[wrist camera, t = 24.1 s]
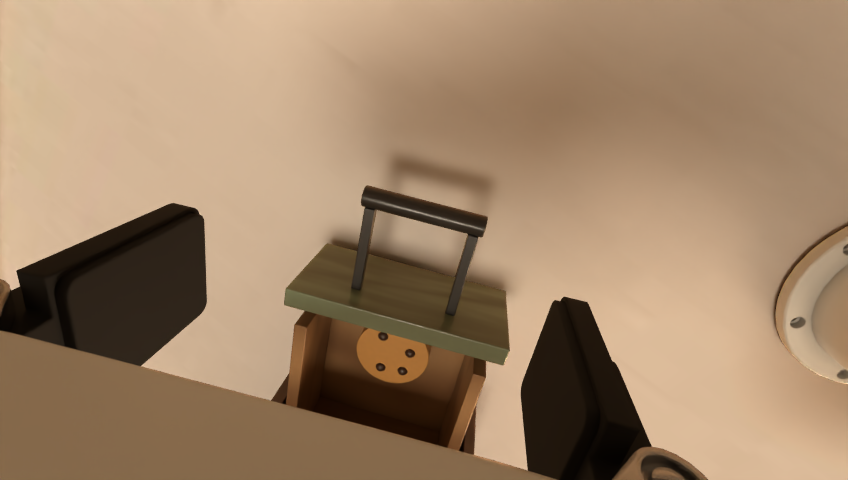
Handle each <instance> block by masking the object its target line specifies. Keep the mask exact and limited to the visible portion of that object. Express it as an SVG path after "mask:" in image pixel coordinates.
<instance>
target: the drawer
mask: <svg viewBox="0 0 848 480" xmlns="http://www.w3.org/2000/svg"><path fill="white" fill-rule="evenodd" d="M361 205H362V206H364V207H365V209H364V215H363V221H362V227H361V233H360V238H359V244H358V250H357V251H355V250H351V249H347V248H343V247H340V246H336V245H332V244H329V243H327V244H326V245H325V246H324V247H323V248H322V249H321V250H320V252H319V253H318V254H317V255H316V256H315V257H314V258H313V259H312V260H311V261H310V263H309V264H308V265H307V266H306V267H305V268H304V269H303V270H302V271H301V272H300V274H299V275H298V276H297V277H296V278H295V279H294V280H293V281H292V282H291V283H290V285H289V286H288V287H287V288H286V291H285V301H284V305H286V306H290V307H293V308H297V309H300V310H304V313H303V314H302V315H301V317H300V318H299V319H298V321H297V322H296V323H295V326H294V335H293V344H292V354H291V363H290V372H289V381H288V390H287V399H286V405H289V406H293V407H296V408H300V409H304V410H308V411H312V412H315V413H319V414H323V415H327V416H331V417H334V418H338V419H342V420H346V421H349V422H353V423H357V424H361V425H365V426H368V427H372V428H376V429H379V430H383V431H387V432H391V433H394V434H398V435H402V436H405V437H409V438H413V439H416V440H420V441H424V442H428V443H431V444H435V445H439V446H442V447H446V448H450V449H454V450H457V451H459V449H460V446H461V444H462V441H463V438H464V435H465V433H466V430H467V427H468V425H469V422H470V419H471V417H472V414H473V411H474V408H475V406H476V403H477V400H478V398H479V395H480V392H481V389H482V387H483V384H484V381H485V379H486V361H489V362H492V363H496V364H500V365H504V364H505V362H506V359H507V356H508V354H509V351H510V347H509V333H508V318H507V304H506V291H504V290H500V289H496V288H493V287H489V286H485V285H482V284H478V283H474V282H470V281H467V280H466V277H467V274H468V270H469V267H470V264H471V260H472V257H473V254H474V250H475V247H476V244H477V241H478V237H483V235H484V232H485V229H486V225H487V220H488V217H487V216H483V215H479V214H475V213H471V212H468V211H464V210H460V209H456V208H452V207H448V206H445V205H441V204H437V203H433V202H429V201H425V200H422V199H418V198H414V197H410V196H406V195H402V194H398V193H395V192H391V191H387V190H383V189H379V188H375V187H372V186H368V185H367V186H366V187H365V188H364V191H363V194H362V199H361ZM377 210H379V211H383V212H387V213H390V214H394V215H398V216H402V217H406V218H409V219H413V220H417V221H421V222H425V223H428V224H432V225H436V226H440V227H444V228H447V229H451V230H455V231H459V232H463V233H467V234H468V235H467V238H466V242H465V245H464V249H463V252H462V255H461V259H460V262H459V266H458V269H457V273H456V276H455V277H452V276H448V275H444V274H441V273H437V272H433V271H429V270H426V269H422V268H418V267H414V266H411V265H407V264H403V263H399V262H396V261H392V260H388V259H385V258H381V257H377V256H373V255H370V254H369V249H370V244H371V238H372V233H373V227H374V222H375V216H376V211H377ZM364 327H366V328H369V329H373V330H376V331H380V332H384V333H387V334H391V335H395V336H398V337H402V338H405V339H409V340H413V341H416V342H420V343H424V344H427V345H431V351H430V356H429V361H428V365H427V367H426V369H425V371H424V372H423V373H422V374H421V375H420V376H419V377H417V378H416V379H414V380H412V381H409V382H405V383H390V382H386V381H383V380H380V379H378V378H376V377H374V376H373V375H371V374H370V373H369V372H368V371H367V370H366V369H365V368H364V367H363V366H362V364H361V363H360V361H359V358H358V355H357V342H358V339H359V337H360V335H361V333H362V331H363V329H364Z"/></svg>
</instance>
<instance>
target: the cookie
mask: <svg viewBox="0 0 848 480" xmlns="http://www.w3.org/2000/svg"><path fill="white" fill-rule="evenodd" d="M430 351H431V345H427V344H424V343H420V342H416V341H413V340H409V339H405V338H402V337H398V336H395V335H391V334H387V333H384V332H380V331H376V330H373V329H369V328H366V327H364V329H363V331H362V333H361V335H360V337H359V339H358V342H357V355H358V358H359V361H360V363H361V364H362V366H363V367H364V368H365V369H366V370H367V371H368V372H369V373H370V374H371V375H373V376H374V377H376V378H378V379H380V380H383V381H386V382H390V383H405V382H409V381H412V380H414V379H416V378H417V377H419V376H420V375H421V374H422V373H423V372H424V371H425V369H426V367H427V365H428V361H429V356H430Z"/></svg>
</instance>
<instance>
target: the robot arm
mask: <svg viewBox="0 0 848 480" xmlns="http://www.w3.org/2000/svg"><path fill="white" fill-rule="evenodd" d="M17 275H18V279H19V283H20V287H18V288H16V289H14V290H12V291H11V290H10V286H9V284H8V283H7V282H5V281H4V280H1V279H0V480H708V479H707V478H706V477H705V476H704V475H703V474H702V473H701V472H700V471H699V470H698V469H696V468H695V467H694V466H693V465H692V464H690V463H689V462H688V461H686V460H684V459H683V458H681V457H679V456H678V455H676V454H674V453H672V452H669V451H667V450H664V449H661V448H656V447H652V446H651V444H650V442H649V439H648V437H647V435H646V432H645V430H644V428H643V425H642V423H641V420H640V418H639V416H638V413H637V411H636V409H635V406H634V404H633V402H632V399H631V397H630V395H629V392H628V390H627V387H626V385H625V383H624V380H623V378H622V376H621V373H620V371H619V369H618V367H617V365H616V363H615V362H613V361H612V360H611V357H610V355H609V353H608V350H607V348H606V345H605V343H604V341H603V338H602V336H601V333H600V331H599V328H598V326H597V324H596V321H595V319H594V316H593V314H592V311H591V309H590V307H589V304H588V303H587V302H584V301H580V300H576V299H572V298H568V297H563V298H562V299H561V301H556V300H555V301H553V303H552V305H551V308H550V310H549V313H548V316H547V318H546V321H545V323H544V326H543V329H542V331H541V334H540V337H539V339H538V342H537V345H536V347H535V350H534V353H533V355H532V358H531V361H530V363H529V366H528V369H527V371H526V374H525V377H524V379H523V382H522V387H521V402H522V413H523V423H524V434H525V445H526V455H527V466H528V471H527V470H524V469H520V468H517V467H514V466H511V465H507V464H504V463H501V462H497V461H494V460H491V459H487V458H483V457H479V456H476V455H472V454H468V453H465V452H461V451H457V450H454V449H450V448H446V447H442V446H439V445H435V444H431V443H428V442H424V441H420V440H416V439H413V438H409V437H405V436H402V435H398V434H394V433H391V432H387V431H383V430H379V429H376V428H372V427H368V426H365V425H361V424H357V423H353V422H349V421H346V420H342V419H338V418H334V417H331V416H327V415H323V414H319V413H315V412H312V411H308V410H304V409H300V408H296V407H293V406H289V405H285V404H281V403H277V402H274V401H270V400H266V399H262V398H258V397H255V396H251V395H247V394H243V393H240V392H236V391H232V390H228V389H224V388H221V387H217V386H213V385H209V384H206V383H202V382H198V381H194V380H190V379H187V378H183V377H179V376H175V375H172V374H168V373H164V372H160V371H156V370H153V369H149V368H145V367H141V365H142V364H144V363H145V362H146V361H147V360H148V359H149V358H151V357H152V356H153V355H154V354H155V353H156V352H157V351H159V350H160V349H161V348H162V347H163V346H164V345H166V344H167V343H168V342H169V341H170V340H171V339H172V338H174V337H175V336H176V335H177V334H178V333H179V332H181V331H182V330H183V329H184V328H185V327H186V326H188V325H189V324H190V323H191V322H192V321H193V320H194V319H196V318H197V317H198V316H199V315H200V314H201V313H202V312H203V310H204V309H205V306H206V302H207V294H206V263H205V231H204V219H203V217H202V216H201V215H199V212H198V210H197V209H195V208H192V207H187V206H183V205H179V204H175V203H171V204H168V205H166V206H164V207H161V208H159V209H157V210H155V211H152V212H150V213H148V214H145V215H143V216H141V217H139V218H136V219H134V220H132V221H129V222H127V223H125V224H122V225H120V226H118V227H116V228H113V229H111V230H109V231H106V232H104V233H102V234H100V235H97V236H95V237H93V238H90V239H88V240H86V241H84V242H81V243H79V244H77V245H74V246H72V247H70V248H68V249H65V250H63V251H61V252H58V253H56V254H54V255H51V256H49V257H47V258H45V259H42V260H40V261H38V262H35V263H33V264H31V265H29V266H26V267H24V268H22V269H19V270H17ZM775 317H776V328H777V331H778V333H779V336H780V339H781V341H782V343H783V344H784V345H785V347H786V348H787V350H788V351H789V352H790V353H791V354H792V355H793V356H794V357H795V358H796V359H797V360H798V361H799V362H800V363H801V364H802V365H803V366H805V367H806V368H808V369H809V370H811V371H812V372H814V373H815V374H817V375H820V376H822V377H825V378H827V379H829V380H832V381H836V382H841V383H845V384H848V226H847V227H845V228H844V229H842V230H840V231H838V232H837V233H835V234H833V235H831V236H830V237H828V238H827V239H825V240H824V241H823V242H821V243H820V244H819V245H817V246H816V247H815V248H814V249H812V250H811V251H810V252H809V253H808V254H807V255H806V256H805V257H804V258H803V259H802V260H801V261H800V262H799V263H798V264H797V265H796V266H795V268H794V269H793V271H792V272H791V274H790V275H789V277H788V278H787V279H786V281H785V283H784V285H783V287H782V290H781V292H780V294H779V297H778V300H777V306H776V312H775Z"/></svg>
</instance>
